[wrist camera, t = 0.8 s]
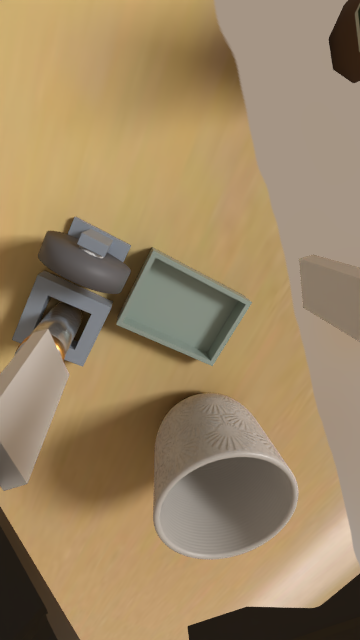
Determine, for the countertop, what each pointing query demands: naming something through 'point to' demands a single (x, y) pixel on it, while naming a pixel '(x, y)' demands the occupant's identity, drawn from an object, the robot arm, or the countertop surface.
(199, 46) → the countertop surface
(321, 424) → the countertop surface
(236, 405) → the planter
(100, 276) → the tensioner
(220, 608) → the countertop surface
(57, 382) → the robot arm
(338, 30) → the beer bottle
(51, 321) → the pin
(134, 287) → the tray
